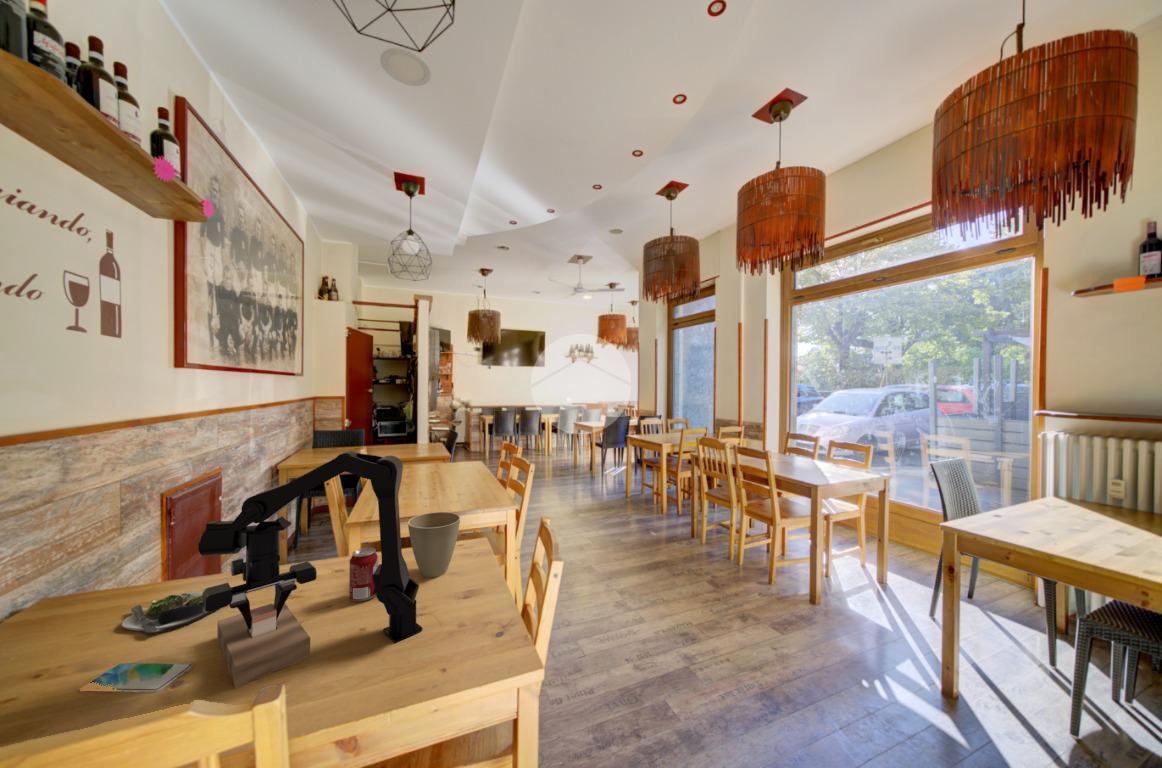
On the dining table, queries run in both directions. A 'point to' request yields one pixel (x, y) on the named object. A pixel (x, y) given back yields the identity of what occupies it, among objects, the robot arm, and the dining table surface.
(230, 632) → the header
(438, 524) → the plant pot
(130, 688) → the smartphone
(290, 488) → the robot arm
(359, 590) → the soda can
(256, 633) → the plug
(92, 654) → the dining table surface
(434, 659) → the dining table surface
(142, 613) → the salad plate
